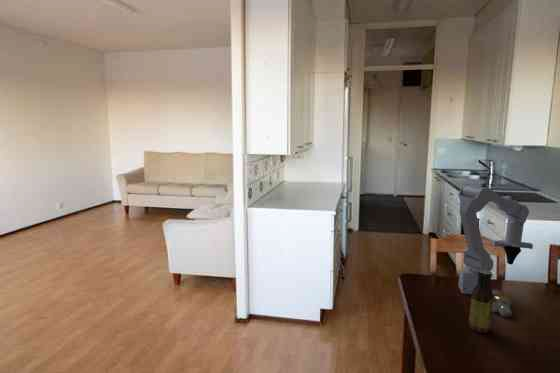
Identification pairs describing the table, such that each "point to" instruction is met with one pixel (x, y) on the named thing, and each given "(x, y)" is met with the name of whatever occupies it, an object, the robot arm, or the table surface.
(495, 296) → the coupling
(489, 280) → the sauce bottle
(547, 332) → the table surface
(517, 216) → the robot arm
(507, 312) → the valve body
